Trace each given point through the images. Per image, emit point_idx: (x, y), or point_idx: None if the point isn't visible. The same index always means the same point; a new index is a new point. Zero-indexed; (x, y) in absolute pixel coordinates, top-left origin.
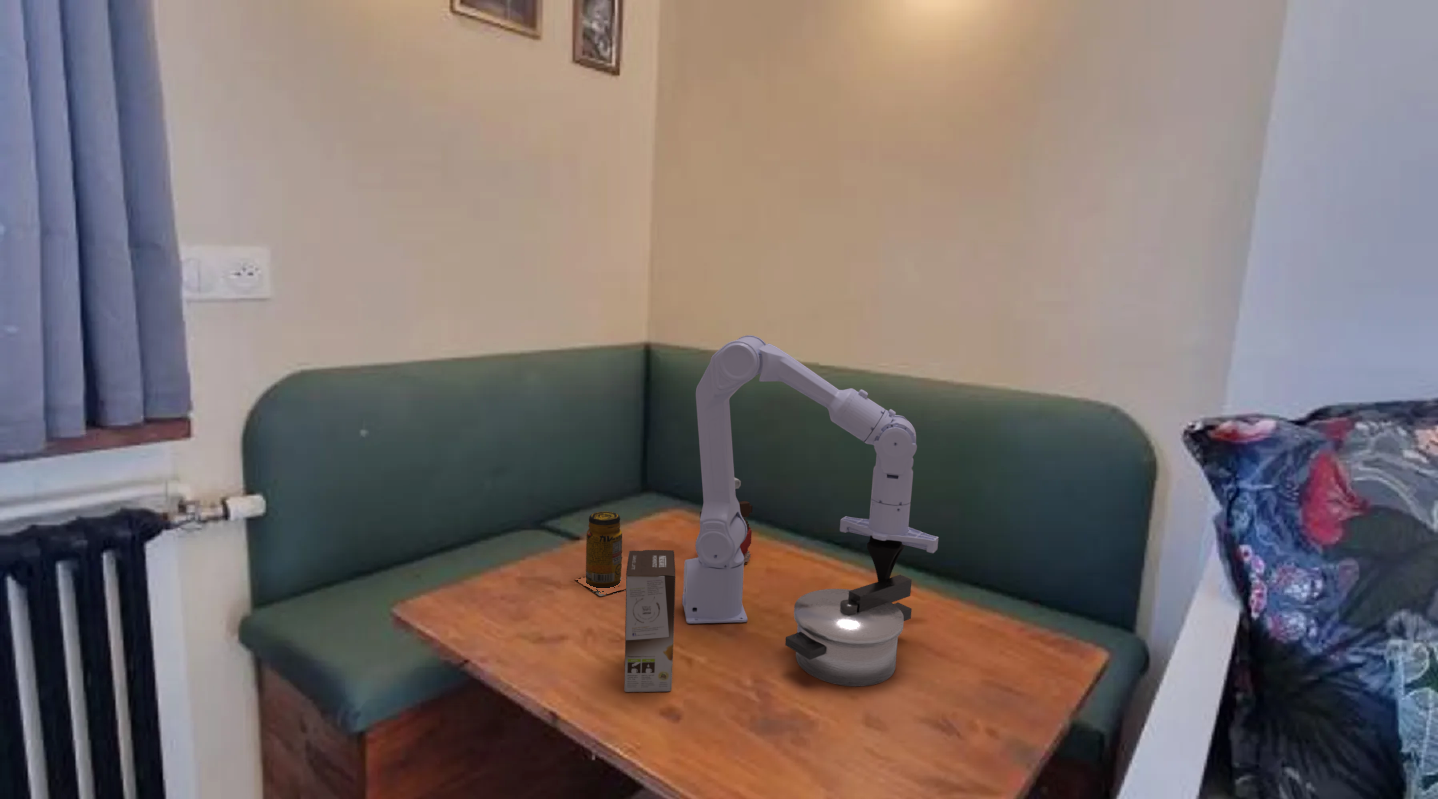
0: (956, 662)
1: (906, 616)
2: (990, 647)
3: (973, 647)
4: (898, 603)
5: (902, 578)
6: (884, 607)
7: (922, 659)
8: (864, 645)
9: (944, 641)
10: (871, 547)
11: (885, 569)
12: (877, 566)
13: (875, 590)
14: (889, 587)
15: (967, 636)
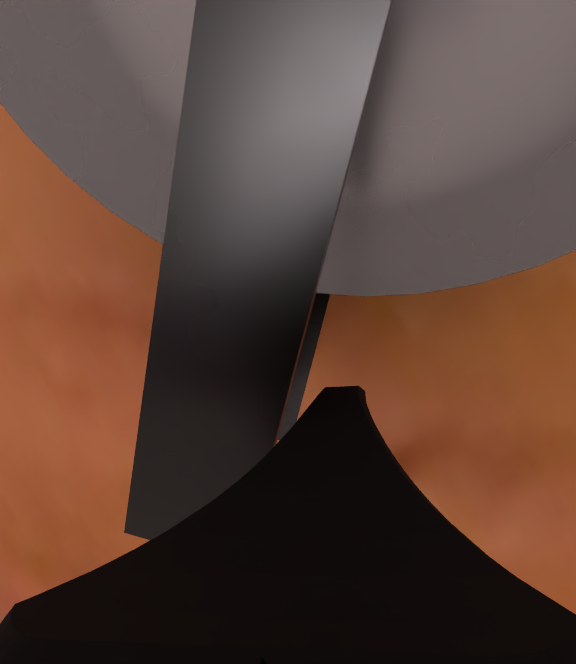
0: (17, 295)
1: None
2: (12, 472)
3: (46, 439)
4: (280, 430)
5: (185, 512)
6: (174, 128)
7: (113, 224)
8: None
9: (137, 418)
10: (478, 653)
11: (270, 472)
12: (368, 476)
13: (207, 83)
14: (160, 277)
15: (104, 499)
